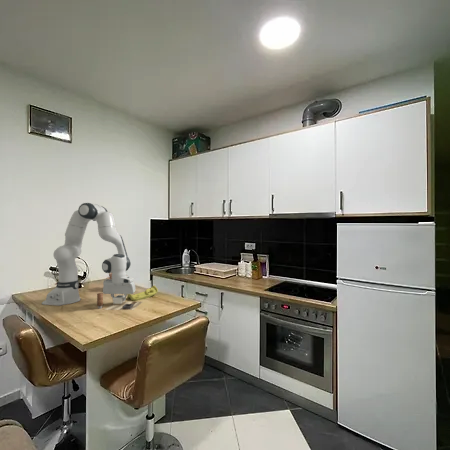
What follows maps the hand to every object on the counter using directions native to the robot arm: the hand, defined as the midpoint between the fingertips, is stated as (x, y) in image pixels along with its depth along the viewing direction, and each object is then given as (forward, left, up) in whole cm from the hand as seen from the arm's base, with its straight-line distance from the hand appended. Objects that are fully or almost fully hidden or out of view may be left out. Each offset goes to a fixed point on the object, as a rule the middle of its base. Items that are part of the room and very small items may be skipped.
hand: (119, 300), depth 161 cm
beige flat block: (+5, -4, -3) cm, 7 cm away
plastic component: (+11, +15, -4) cm, 19 cm away
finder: (0, 0, -1) cm, 1 cm away
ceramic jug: (-19, +39, -3) cm, 44 cm away
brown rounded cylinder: (-8, -9, -3) cm, 12 cm away
